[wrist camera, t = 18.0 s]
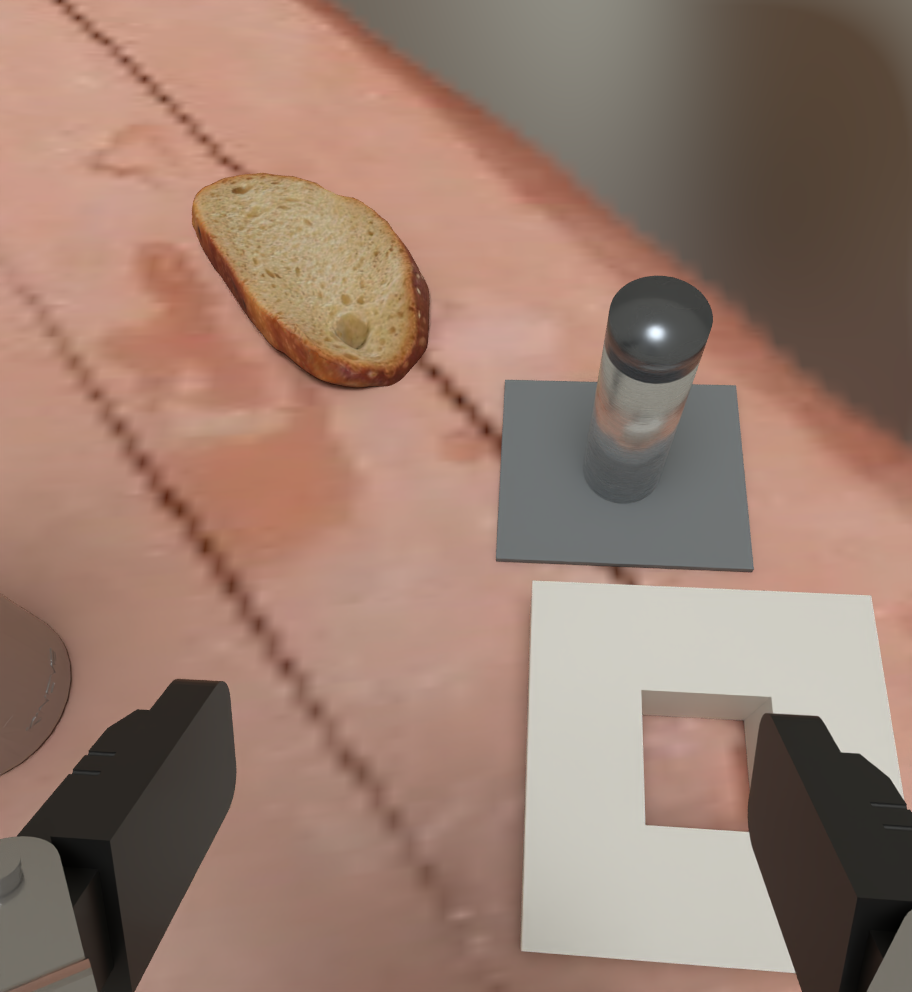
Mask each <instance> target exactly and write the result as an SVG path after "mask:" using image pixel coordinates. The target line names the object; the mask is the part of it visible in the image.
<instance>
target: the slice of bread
mask: <svg viewBox="0 0 912 992" xmlns="http://www.w3.org/2000/svg"><path fill="white" fill-rule="evenodd" d="M192 225H193V227H194V229H195V230H196V234H197V237H198V239H199V242H200V244H201V246H202V248H203V250H204V252H205V254H206V255H207V256H208V258H209V260H210V261H211V263H212V265H213V266H214V268H215V269H216V271H217V272H218V273H219V274H220V275H221V277H222V278H223V280H224V281H225V283H226V284H227V286H228V287H229V289H230V290H231V292H232V293H233V295H234V296H235V298H236V299H237V301H238V302H239V304H240V305H241V307H242V309H243V310H244V312H245V313H246V314H247V316H248V317H249V318H250V320H251V321H252V322H253V323H254V325H255V326H256V327H257V328H258V329H259V331H260V332H261V333H262V334H263V336H264V337H265V338H266V340H267V341H268V342H269V343H270V344H271V345H272V346H273V347H274V348H276V349H277V350H279V351H281V352H283V353H285V354H286V355H287V356H288V357H290V358H291V359H292V360H293V361H294V362H295V363H296V364H298V365H299V366H300V367H301V368H303V369H304V370H305V371H307V372H308V373H310V374H311V375H313V376H314V377H316V378H318V379H320V380H323V381H326V382H329V383H333V384H337V385H343V386H350V387H368V386H390V385H393V384H395V383H397V382H398V381H400V380H401V379H402V378H403V377H404V376H405V375H406V374H407V373H408V372H409V371H410V369H411V368H412V367H413V366H414V365H415V364H416V363H417V361H418V360H419V359H420V358H421V356H422V355H423V354H424V352H425V350H426V348H427V344H428V329H429V290H428V286H427V284H426V282H425V280H424V278H423V276H422V275H421V273H420V271H419V269H418V267H417V265H416V263H415V261H414V259H413V257H412V256H411V254H410V252H409V250H408V249H407V247H406V246H405V245H404V243H403V242H402V241H401V240H400V238H399V237H398V235H397V234H396V233H395V232H394V231H393V230H392V228H391V226H390V225H389V223H388V222H387V221H386V220H385V219H383V218H381V217H380V216H379V215H378V214H377V213H376V212H375V211H374V210H373V209H371V208H370V207H368V206H367V205H365V204H364V203H363V202H361V201H359V200H357V199H355V198H351V197H345V196H340V195H336V194H334V193H333V192H331V191H329V190H326V189H324V188H323V187H321V186H320V185H318V184H317V183H314V182H311V181H308V180H304V179H301V178H297V177H294V176H281V175H273V174H267V173H257V174H244V175H238V176H234V177H228V178H224V179H221V180H219V181H217V182H215V183H213V184H211V185H208V186H205V187H204V188H202V189H201V190H200V191H199V192H198V193H197V194H196V196H195V198H194V201H193V206H192Z"/></svg>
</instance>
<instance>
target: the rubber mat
mask: <svg viewBox="0 0 912 992" xmlns="http://www.w3.org/2000/svg"><path fill="white" fill-rule="evenodd" d="M596 388H597V382H573V381H533V380H505V394H504V413H503V433H502V452H501V472H500V491H499V511H498V530H497V549H496V561H502V562H525V563H549V564H573V565H596V566H620V567H643V568H667V569H691V570H714V571H738V572H752V571H753V570H754V567H753V557H752V546H751V536H750V526H749V515H748V505H747V495H746V484H745V474H744V464H743V454H742V443H741V433H740V423H739V412H738V402H737V392H736V386H735V385H694V384H692V386H691V388H690V391H689V394H688V397H687V400H686V403H685V406H684V409H683V412H682V415H681V417H680V420H679V423H678V426H677V429H676V432H675V435H674V438H673V441H672V444H671V446H670V449H669V452H668V455H667V458H666V461H665V464H664V467H663V470H662V473H661V475H660V478H659V481H658V484H657V486H656V488H655V489H654V490H653V492H652V493H651V494H650V495H648V496H647V497H646V498H644V499H642V500H640V501H637V502H634V503H628V504H620V503H614V502H610V501H607V500H605V499H603V498H601V497H600V496H598V495H597V494H596V493H595V492H594V491H593V490H592V489H591V488H590V487H589V485H588V484H587V482H586V479H585V476H584V470H583V467H584V459H585V453H586V448H587V442H588V436H589V430H590V424H591V418H592V412H593V406H594V400H595V394H596Z"/></svg>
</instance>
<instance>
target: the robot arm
mask: <svg viewBox="0 0 912 992" xmlns="http://www.w3.org/2000/svg"><path fill="white" fill-rule="evenodd" d="M70 682H71V676H70V662H69V658H68V654H67V651H66V648H65V646H64V644H63V642H62V641H61V639H60V637H59V636H58V634H57V633H56V632H55V631H54V630H53V629H52V628H51V627H50V626H49V625H48V624H46V623H45V622H43V621H41V620H40V619H38V618H37V617H35V616H34V615H32V614H31V613H29V612H28V611H26V610H24V609H23V608H21V607H20V606H18V605H17V604H15V603H14V602H12V601H11V600H9V599H8V598H6V597H5V596H3V595H2V594H0V775H1V774H3V773H5V772H7V771H8V770H10V769H12V768H13V767H15V766H17V765H19V764H20V763H22V762H23V761H24V760H25V759H26V758H28V757H29V756H30V755H31V754H32V753H34V752H35V751H36V750H37V749H38V748H39V747H40V745H41V744H42V743H43V742H44V741H45V740H46V738H47V737H48V736H49V735H50V734H51V732H52V730H53V729H54V727H55V725H56V724H57V722H58V720H59V719H60V717H61V714H62V712H63V709H64V706H65V704H66V701H67V699H68V693H69V687H70ZM235 783H236V758H235V747H234V735H233V723H232V712H231V700H230V692H229V688H228V686H227V684H226V683H225V682H223V681H207V680H189V679H175V680H174V681H173V682H172V683H171V684H170V685H169V686H168V687H167V689H166V690H165V691H164V693H163V694H162V695H161V696H160V698H159V699H158V700H157V701H156V703H155V704H154V705H153V707H152V708H151V709H150V710H139V709H137V710H136V711H134V712H132V713H131V714H129V715H128V716H126V717H125V718H123V719H121V720H120V721H118V722H117V723H115V724H113V725H112V726H110V727H109V728H107V730H106V731H105V732H104V733H103V734H102V736H101V737H100V738H99V739H98V740H97V741H96V743H95V744H94V745H93V746H92V747H91V749H90V750H89V754H88V755H85V756H84V757H83V758H82V759H81V760H80V762H79V763H78V764H77V765H76V766H75V768H74V769H73V773H72V774H69V775H68V776H67V777H66V778H65V779H64V781H63V782H62V783H61V784H60V785H59V787H58V788H57V789H56V790H55V791H54V793H53V794H52V795H51V796H50V797H49V798H48V800H47V801H46V802H45V803H44V804H43V806H42V807H41V808H40V809H39V810H38V812H37V813H36V814H35V815H34V816H33V818H32V819H31V820H30V821H29V822H28V823H27V825H26V826H25V827H24V828H23V829H22V831H21V832H20V833H19V834H18V835H17V837H10V838H4V839H0V992H134V991H135V990H136V988H137V986H138V984H139V982H140V980H141V978H142V976H143V974H144V972H145V970H146V968H147V966H148V964H149V963H150V961H151V959H152V957H153V955H154V953H155V951H156V949H157V947H158V945H159V943H160V941H161V939H162V938H163V936H164V934H165V932H166V930H167V928H168V926H169V924H170V922H171V920H172V918H173V916H174V914H175V912H176V911H177V909H178V907H179V905H180V903H181V901H182V899H183V897H184V895H185V893H186V891H187V889H188V887H189V886H190V884H191V882H192V880H193V878H194V876H195V874H196V872H197V870H198V868H199V866H200V864H201V862H202V860H203V859H204V857H205V855H206V853H207V851H208V849H209V847H210V845H211V843H212V841H213V839H214V837H215V835H216V834H217V832H218V830H219V828H220V826H221V824H222V822H223V820H224V818H225V816H226V814H227V812H228V810H229V808H230V805H231V802H232V799H233V795H234V790H235ZM906 805H907V804H906V803H905V801H904V800H903V798H902V796H901V795H900V793H899V792H898V790H897V789H896V787H895V785H894V784H893V782H892V781H891V779H890V778H889V777H888V776H887V775H886V774H884V773H883V772H882V771H881V770H879V769H878V768H877V767H876V766H874V765H873V764H872V763H871V762H869V761H868V760H867V759H866V758H864V757H863V756H862V755H861V754H859V753H843V752H841V751H840V750H839V748H838V746H837V744H836V743H835V741H834V739H833V737H832V736H831V734H830V732H829V730H828V729H827V727H826V725H825V724H824V722H823V720H822V719H821V718H820V717H819V716H812V715H794V714H776V713H765V714H764V715H763V716H762V718H761V721H760V724H759V730H758V737H757V744H756V751H755V758H754V765H753V773H752V780H751V787H750V794H749V802H748V827H749V835H750V841H751V845H752V848H753V852H754V854H755V857H756V860H757V863H758V866H759V869H760V872H761V875H762V877H763V880H764V883H765V886H766V889H767V892H768V895H769V898H770V900H771V903H772V906H773V909H774V912H775V915H776V918H777V921H778V924H779V926H780V929H781V932H782V935H783V938H784V941H785V944H786V947H787V949H788V952H789V955H790V958H791V961H792V964H793V967H794V970H795V972H796V975H797V978H798V981H799V984H800V987H801V990H802V992H912V812H911V811H910V810H907V807H906Z"/></svg>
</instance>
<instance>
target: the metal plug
mask: <svg viewBox="0 0 912 992" xmlns="http://www.w3.org/2000/svg"><path fill="white" fill-rule="evenodd" d="M712 323H713V315H712V310H711V307H710V305H709V303H708V301H707V299H706V298H705V297H704V295H703V294H702V293H701V292H700V291H699V290H697V289H696V288H695V287H693V286H692V285H690V284H689V283H687V282H685V281H682V280H679V279H676V278H673V277H667V276H649V277H643V278H639V279H637V280H634V281H632V282H630V283H628V284H627V285H625V286H624V287H623V288H621V289H620V290H619V291H618V292H617V294H616V295H615V297H614V298H613V300H612V303H611V306H610V310H609V316H608V322H607V328H606V334H605V340H604V346H603V352H602V358H601V364H600V370H599V376H598V382H597V388H596V394H595V400H594V406H593V412H592V418H591V424H590V430H589V436H588V442H587V448H586V453H585V459H584V467H583V470H584V476H585V479H586V482H587V484H588V485H589V487H590V488H591V489H592V490H593V491H594V492H595V493H596V494H597V495H598V496H600V497H601V498H603V499H605V500H607V501H610V502H614V503H620V504H628V503H634V502H637V501H640V500H642V499H644V498H646V497H647V496H648V495H650V494H651V493H652V492H653V490H654V489H655V488H656V486H657V484H658V481H659V478H660V475H661V473H662V470H663V467H664V464H665V461H666V458H667V455H668V452H669V449H670V446H671V444H672V441H673V438H674V435H675V432H676V429H677V426H678V423H679V420H680V417H681V415H682V412H683V409H684V406H685V403H686V400H687V397H688V394H689V391H690V388H691V386H692V383H693V380H694V377H695V374H696V371H697V368H698V365H699V362H700V359H701V357H702V354H703V351H704V348H705V345H706V342H707V339H708V336H709V333H710V330H711V328H712Z"/></svg>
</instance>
